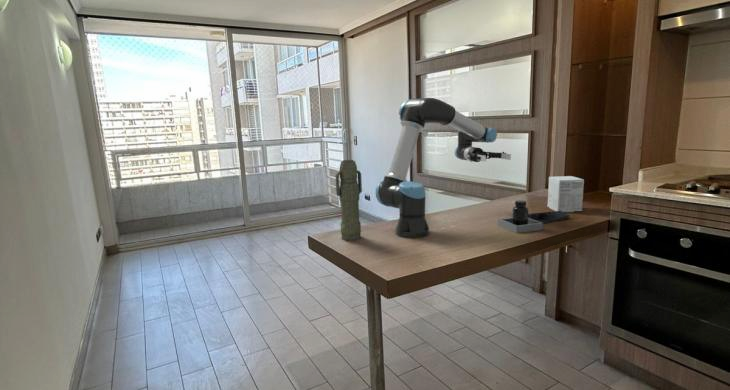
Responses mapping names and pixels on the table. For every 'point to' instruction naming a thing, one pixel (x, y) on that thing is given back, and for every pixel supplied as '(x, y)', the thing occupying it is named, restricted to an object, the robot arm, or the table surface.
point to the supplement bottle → (520, 213)
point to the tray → (531, 225)
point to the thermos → (349, 199)
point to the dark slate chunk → (548, 216)
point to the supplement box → (565, 193)
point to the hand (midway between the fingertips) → (497, 157)
